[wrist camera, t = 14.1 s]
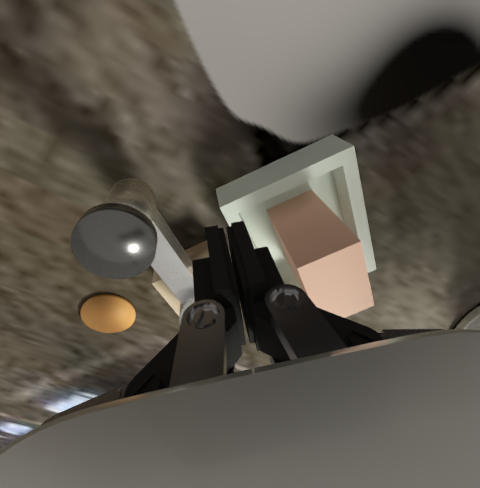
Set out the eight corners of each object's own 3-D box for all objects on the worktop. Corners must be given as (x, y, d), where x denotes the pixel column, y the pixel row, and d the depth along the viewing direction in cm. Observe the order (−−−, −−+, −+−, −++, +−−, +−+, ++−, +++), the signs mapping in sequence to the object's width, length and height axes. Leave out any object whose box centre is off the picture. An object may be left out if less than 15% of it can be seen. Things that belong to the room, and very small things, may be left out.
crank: (230, 298, 26) (240, 356, 21) (190, 315, 26) (191, 376, 21) (142, 159, 18) (125, 198, 13) (87, 186, 18) (51, 233, 13)
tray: (332, 134, 22) (354, 145, 19) (357, 248, 29) (376, 269, 26) (215, 188, 23) (219, 207, 20) (265, 287, 30) (274, 311, 27)
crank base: (214, 236, 25) (217, 254, 23) (240, 281, 29) (245, 301, 26) (65, 303, 27) (54, 327, 25) (106, 339, 30) (100, 362, 28)
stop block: (311, 189, 23) (361, 241, 17) (327, 244, 27) (374, 305, 20) (266, 209, 24) (297, 268, 17) (287, 261, 27) (320, 327, 20)
